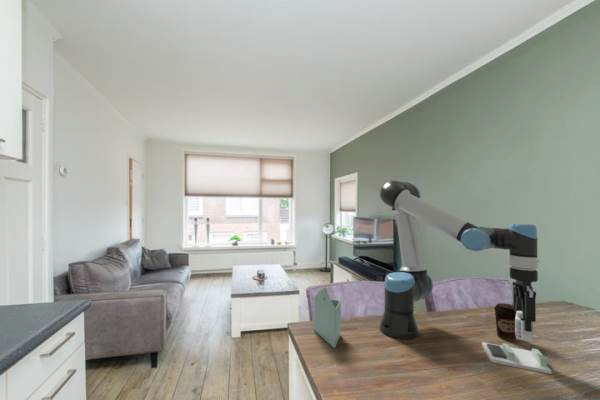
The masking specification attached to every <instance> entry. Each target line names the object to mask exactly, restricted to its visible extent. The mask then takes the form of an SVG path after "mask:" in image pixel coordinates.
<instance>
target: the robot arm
mask: <svg viewBox="0 0 600 400" xmlns="http://www.w3.org/2000/svg"><path fill="white" fill-rule="evenodd" d="M379 197H380V199H381V200H380V201H382V202H383V203H384V204H385V205H387V206H389V207H390V208H391V211H392V213H393V214H395V216H396V225H397V233H398V240H399V241H398V242H399V250H400V257H401V258H400V259H401V267H400V268H399V271H397V272H396V271H395V272H390V273H388V274H386V275H385V277H384V284H383V285H384V309H383V313H382V316H381V318H380V320H379V321H380V322H379V330H380V331H381V332H382V333H383V334H384V335H386V336H389V337H390V338H395V339H398V340H399V339H400V340H412V339H416V338H417V337H418V336H419V327H418V325H417V324H418V323H417V321H416V317H415V312H414V311H415V310H414V309H415V303H416V302H418V301H421V300H425V299H426V298H427V297H429V296H430V294H431V293H432V292H433V289H434V282H433V279H432V278H431V276H430V275H429V274H428V270H427V269H428V268H427V267H425V266H424V265H423V261H422V258H423V257H422V253H421V245H420V237H419V231H418V225H417V224H418V223H417V220H420V221H421V222H423V223H425V224H426V225H429V226H431V227H432V228H434V229H436V230H438V231H439V232H441V233H443V234H444V235H447V236H449V237H451V238H452V239H454V240H456V241H458V242H459V243H461V245H462V246H463V247H464V248H465V249H467V250H469V251H473V252H481V251H485V250H489V249H496V250H497V249H500V250H509V266H510V267H509V278H510V279H512V280H515V281H512V283H511V284H512V305H513V309H514V310H515V313H516V312H517V311H522V315H523V318H520V320H521V321H522V339H521V340H522V341H528V342H533V340H534V334H533V335H532V322H533V323H535V322H536V319H537V316H536V313H537V312H536V311H537V310H536V297H537V292H536V291H534V288H533V286H532V283H536V282H538V280H539V275H538V274H539V272H538V270H537V269H538V263H539V262H540V260H539V259H538V238H539V237H538V229H537V226H536V225H534V224H532V223H510V224H509V227H508V228H497V227H484V226H477V225H475V224H472V222H471V223H470V222H469V221H467V220H464V219H462V218H461V217H458V216H456V215H454V214H452V213H450V212H448V211H446V210H444V209H442V208H440V207H438V206H436V205H434V204H432V203H429V202H427V201H425V200H424V199H421V192H420V189H419V188H418V187H417V186H416V185H415V184H413V183H411V182H407V181H398V180H389V181H387V182H385V183H384V184H383V185H381V188H380V190H379ZM516 316H517V314H516Z"/></svg>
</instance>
